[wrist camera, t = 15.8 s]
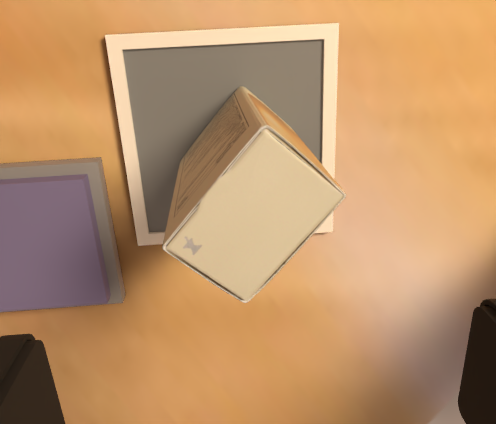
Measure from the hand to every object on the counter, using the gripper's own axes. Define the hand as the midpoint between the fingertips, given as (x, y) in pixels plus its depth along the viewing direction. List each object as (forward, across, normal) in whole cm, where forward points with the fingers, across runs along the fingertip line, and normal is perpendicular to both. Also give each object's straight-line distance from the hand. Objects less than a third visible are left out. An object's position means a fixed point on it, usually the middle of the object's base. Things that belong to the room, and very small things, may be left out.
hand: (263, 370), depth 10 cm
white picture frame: (+20, 0, 0) cm, 20 cm away
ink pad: (+20, +13, +5) cm, 25 cm away
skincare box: (+20, 0, 0) cm, 20 cm away
